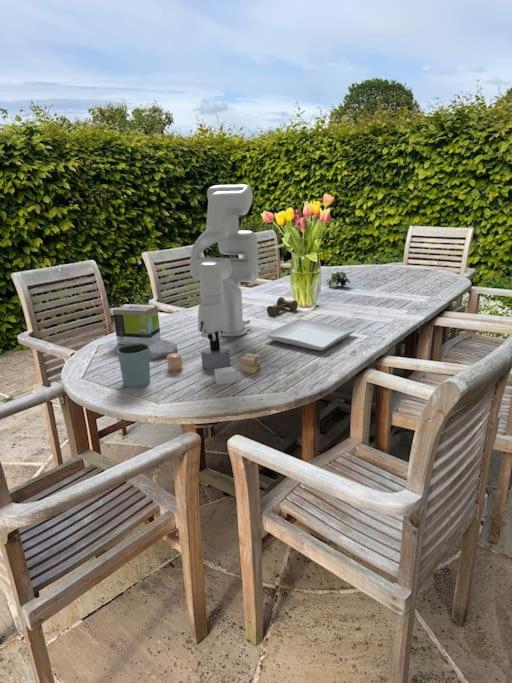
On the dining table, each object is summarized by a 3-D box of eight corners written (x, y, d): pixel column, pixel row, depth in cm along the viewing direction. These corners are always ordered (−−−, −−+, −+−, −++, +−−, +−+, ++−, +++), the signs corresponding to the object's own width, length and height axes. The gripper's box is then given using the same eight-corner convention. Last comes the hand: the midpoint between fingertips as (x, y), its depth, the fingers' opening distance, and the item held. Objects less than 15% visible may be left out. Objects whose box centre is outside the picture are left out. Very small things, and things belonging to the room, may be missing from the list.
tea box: (161, 338, 193) (158, 304, 188) (150, 347, 184) (146, 311, 179) (129, 336, 197) (125, 302, 192) (116, 344, 188) (111, 309, 183)
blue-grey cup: (115, 387, 148) (111, 352, 144) (129, 375, 157) (125, 341, 153) (145, 389, 146) (141, 354, 142) (157, 376, 155) (154, 343, 151)
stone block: (180, 356, 179) (162, 346, 183) (181, 345, 176) (162, 335, 181) (157, 366, 170) (139, 356, 175) (157, 355, 168) (139, 345, 172)
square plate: (323, 356, 170) (323, 346, 169) (263, 342, 186) (263, 333, 185) (355, 336, 190) (356, 327, 189) (299, 325, 206) (299, 317, 205)
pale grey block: (232, 377, 154) (231, 366, 152) (236, 382, 150) (235, 370, 149) (215, 380, 152) (214, 369, 150) (218, 385, 148) (217, 373, 147)
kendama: (262, 315, 224) (287, 305, 238) (278, 319, 218) (302, 308, 232) (262, 303, 222) (287, 294, 236) (278, 307, 216) (302, 297, 230)
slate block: (214, 361, 168) (213, 345, 166) (230, 364, 164) (229, 348, 162) (202, 367, 162) (201, 351, 160) (218, 371, 158) (217, 355, 156)
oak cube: (247, 366, 162) (247, 352, 161) (260, 368, 160) (259, 355, 158) (240, 371, 158) (240, 357, 156) (253, 373, 156) (253, 359, 154)
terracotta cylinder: (176, 365, 165) (175, 352, 163) (185, 368, 162) (184, 355, 160) (165, 369, 161) (163, 356, 160) (174, 372, 158) (173, 359, 156)
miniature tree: (341, 295, 278) (354, 279, 272) (334, 295, 269) (347, 279, 263) (328, 282, 281) (340, 267, 276) (320, 283, 272) (333, 267, 267)
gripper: (220, 293, 163) (223, 342, 169) (187, 301, 152) (191, 353, 158) (235, 296, 158) (237, 346, 164) (202, 305, 148) (206, 358, 154)
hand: (215, 349), depth 161 cm, fingers closed
